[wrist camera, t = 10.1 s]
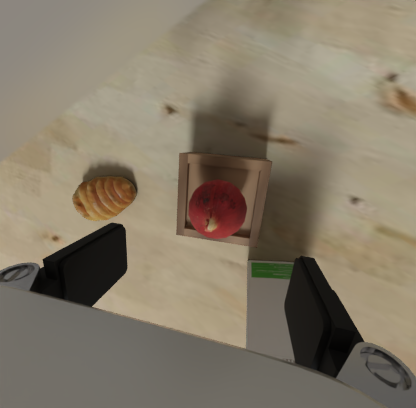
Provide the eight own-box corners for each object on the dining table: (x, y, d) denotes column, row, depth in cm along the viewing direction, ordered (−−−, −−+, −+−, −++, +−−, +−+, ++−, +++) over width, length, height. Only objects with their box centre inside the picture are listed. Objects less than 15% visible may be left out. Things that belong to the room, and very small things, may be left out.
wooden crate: (266, 158, 25) (272, 161, 20) (254, 228, 28) (256, 247, 23) (192, 152, 27) (179, 153, 21) (188, 218, 30) (176, 234, 24)
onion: (192, 181, 23) (166, 198, 15) (240, 169, 21) (237, 181, 14) (205, 226, 24) (186, 261, 17) (250, 217, 23) (254, 252, 15)
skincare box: (302, 261, 28) (365, 383, 14) (300, 298, 30) (353, 442, 15) (245, 259, 30) (245, 366, 15) (245, 294, 32) (246, 421, 17)
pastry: (127, 164, 29) (111, 167, 26) (146, 204, 31) (133, 212, 27) (81, 184, 32) (61, 189, 28) (101, 221, 33) (83, 230, 30)
